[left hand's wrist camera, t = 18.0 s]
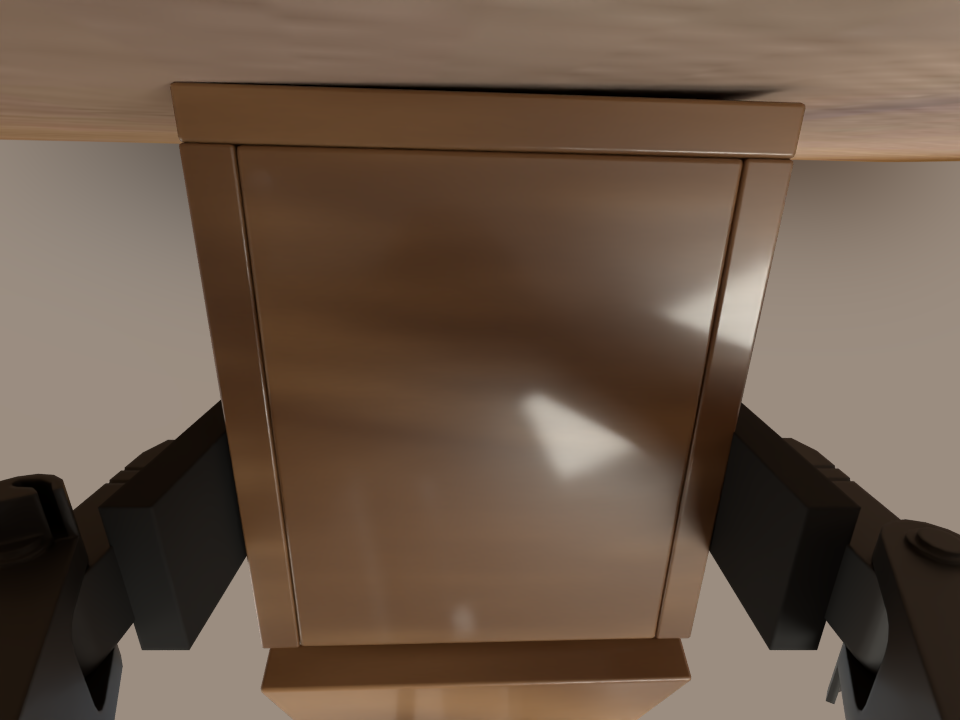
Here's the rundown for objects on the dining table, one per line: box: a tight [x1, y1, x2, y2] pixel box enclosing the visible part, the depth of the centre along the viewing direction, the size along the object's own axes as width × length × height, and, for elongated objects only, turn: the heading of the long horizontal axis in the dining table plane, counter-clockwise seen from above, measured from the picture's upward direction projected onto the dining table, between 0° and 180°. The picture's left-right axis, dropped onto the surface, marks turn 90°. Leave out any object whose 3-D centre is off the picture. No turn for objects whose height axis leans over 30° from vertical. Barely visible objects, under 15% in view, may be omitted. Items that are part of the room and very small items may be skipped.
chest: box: [170, 82, 805, 648], centre depth 15 cm, size 13×9×10 cm
